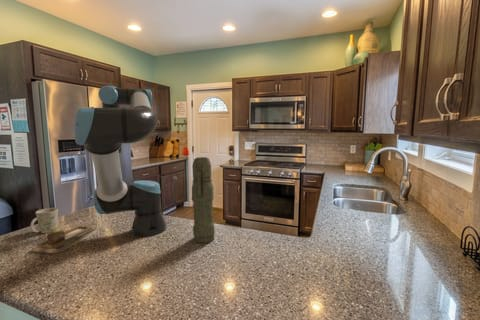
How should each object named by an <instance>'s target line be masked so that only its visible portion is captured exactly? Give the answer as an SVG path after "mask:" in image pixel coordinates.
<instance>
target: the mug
mask: <svg viewBox="0 0 480 320" xmlns="http://www.w3.org/2000/svg"><path fill="white" fill-rule="evenodd" d="M58 217H59V208H58V207H46V208H42V209H38V210H37V211H35V218H33V219H32V220H31V222H30V225H29V226H30V227H29V228H30V231H31V232H33V233H39V232H41V234H50V233H51V230H52V229H54V228H58V222H59V220H58V219H59V218H58ZM36 222H37V223H38V227H39V229H35V227H34V224H35V223H36Z"/></svg>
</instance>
